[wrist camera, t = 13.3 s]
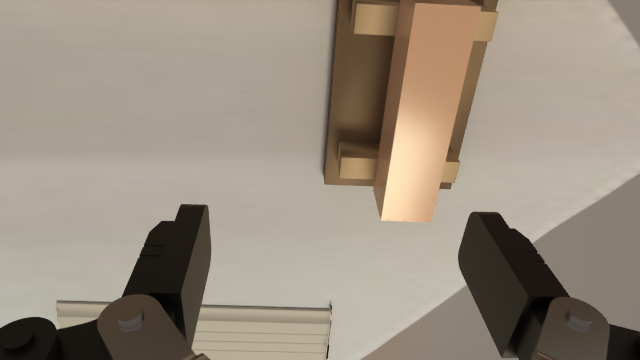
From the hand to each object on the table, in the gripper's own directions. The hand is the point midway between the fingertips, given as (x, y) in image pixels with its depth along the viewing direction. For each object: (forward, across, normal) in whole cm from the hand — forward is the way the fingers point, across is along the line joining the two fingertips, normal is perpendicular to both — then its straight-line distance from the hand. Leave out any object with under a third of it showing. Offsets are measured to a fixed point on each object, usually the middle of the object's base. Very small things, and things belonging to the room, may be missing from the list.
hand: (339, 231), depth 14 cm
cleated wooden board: (+26, -8, +4) cm, 27 cm away
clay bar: (+21, -8, +4) cm, 23 cm away
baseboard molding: (+27, +11, +36) cm, 46 cm away
